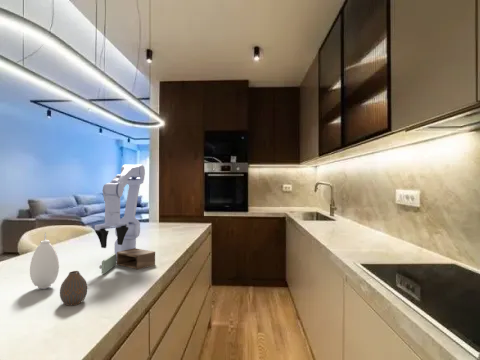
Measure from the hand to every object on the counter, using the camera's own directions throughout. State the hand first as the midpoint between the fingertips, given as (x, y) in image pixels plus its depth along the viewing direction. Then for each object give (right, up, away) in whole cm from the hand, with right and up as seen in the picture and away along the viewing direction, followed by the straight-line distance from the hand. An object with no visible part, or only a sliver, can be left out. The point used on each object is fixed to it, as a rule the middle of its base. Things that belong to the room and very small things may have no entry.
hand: (112, 246), depth 124 cm
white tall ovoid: (-12, -9, -25) cm, 29 cm away
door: (0, -8, -3) cm, 9 cm away
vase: (+4, -8, -37) cm, 38 cm away
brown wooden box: (+8, -9, +5) cm, 13 cm away
